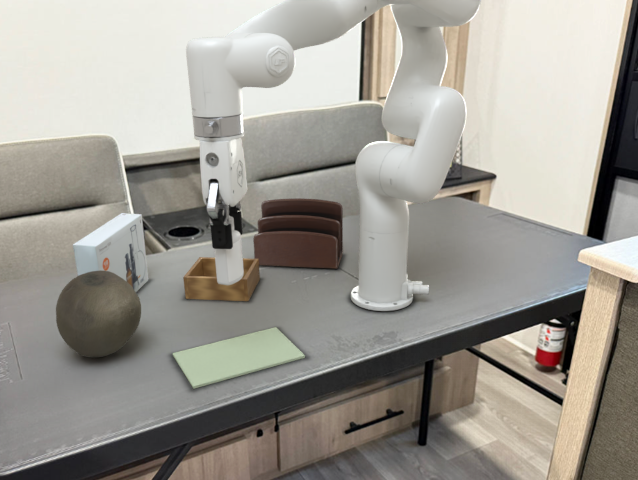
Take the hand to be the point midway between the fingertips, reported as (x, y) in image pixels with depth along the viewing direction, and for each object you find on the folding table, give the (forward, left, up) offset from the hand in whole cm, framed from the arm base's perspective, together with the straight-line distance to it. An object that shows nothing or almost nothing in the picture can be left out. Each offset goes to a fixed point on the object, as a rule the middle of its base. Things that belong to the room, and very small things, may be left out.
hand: (228, 240), depth 98 cm
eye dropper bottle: (0, 0, -7) cm, 7 cm away
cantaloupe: (+23, +3, -21) cm, 31 cm away
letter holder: (-5, -44, -21) cm, 49 cm away
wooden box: (+9, -26, -21) cm, 35 cm away
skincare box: (+30, -19, -21) cm, 42 cm away
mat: (-1, +2, -21) cm, 21 cm away
